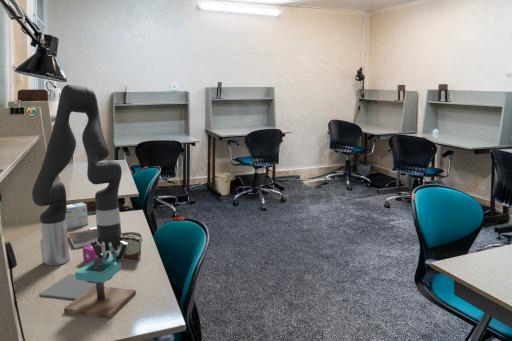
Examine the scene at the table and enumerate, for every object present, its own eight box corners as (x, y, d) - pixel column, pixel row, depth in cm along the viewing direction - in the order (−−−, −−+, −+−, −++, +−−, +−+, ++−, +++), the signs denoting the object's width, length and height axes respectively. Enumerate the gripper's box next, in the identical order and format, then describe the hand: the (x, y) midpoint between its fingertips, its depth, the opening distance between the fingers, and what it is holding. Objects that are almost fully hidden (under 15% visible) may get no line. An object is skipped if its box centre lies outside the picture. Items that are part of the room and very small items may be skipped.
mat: (39, 295, 145) (39, 294, 145) (69, 275, 160) (69, 274, 160) (78, 300, 142) (78, 298, 142) (105, 279, 157) (105, 277, 157)
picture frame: (74, 249, 187) (124, 239, 198) (74, 243, 187) (124, 234, 198) (68, 238, 201) (115, 229, 212) (67, 232, 201) (114, 224, 212)
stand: (64, 312, 134) (59, 266, 131) (93, 289, 149) (90, 247, 146) (110, 318, 131) (106, 271, 128) (135, 293, 146) (133, 251, 143)
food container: (149, 255, 179) (148, 233, 177) (142, 261, 173) (140, 238, 171) (123, 253, 182) (122, 230, 180) (115, 258, 176) (113, 235, 174)
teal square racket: (75, 279, 134) (75, 272, 134) (102, 260, 149) (102, 254, 148) (104, 282, 132) (103, 275, 132) (128, 263, 147) (128, 256, 146)
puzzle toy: (95, 256, 178) (94, 243, 177) (104, 259, 176) (103, 246, 175) (83, 261, 174) (82, 248, 173) (92, 264, 171) (91, 250, 170)
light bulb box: (84, 221, 224) (82, 201, 222) (88, 224, 219) (87, 204, 217) (63, 225, 218) (61, 205, 216) (67, 229, 213) (65, 208, 211)
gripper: (82, 223, 140) (87, 272, 143) (121, 226, 137) (125, 276, 140) (96, 216, 147) (100, 263, 151) (133, 218, 144) (136, 267, 148)
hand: (112, 269), depth 146 cm, fingers closed on teal square racket, 2 cm apart
